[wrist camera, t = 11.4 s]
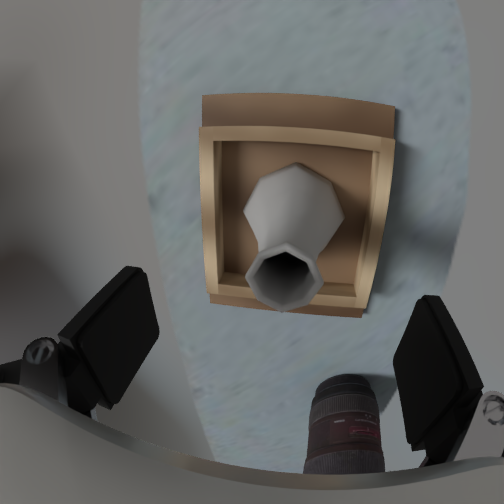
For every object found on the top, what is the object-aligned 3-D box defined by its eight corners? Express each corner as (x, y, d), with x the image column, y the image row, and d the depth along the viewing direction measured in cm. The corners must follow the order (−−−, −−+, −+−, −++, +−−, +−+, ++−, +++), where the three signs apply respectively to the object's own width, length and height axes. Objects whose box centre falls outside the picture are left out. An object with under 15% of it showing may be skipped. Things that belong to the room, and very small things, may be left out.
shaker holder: (205, 96, 19) (192, 92, 16) (391, 107, 17) (403, 104, 14) (212, 298, 26) (203, 315, 24) (360, 312, 24) (364, 332, 22)
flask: (360, 217, 20) (398, 289, 11) (290, 272, 23) (277, 363, 14) (296, 143, 18) (289, 157, 10) (227, 208, 22) (172, 270, 13)
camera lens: (375, 363, 27) (390, 488, 13) (375, 401, 30) (382, 505, 16) (304, 374, 29) (291, 498, 16) (315, 410, 32) (306, 512, 19)
